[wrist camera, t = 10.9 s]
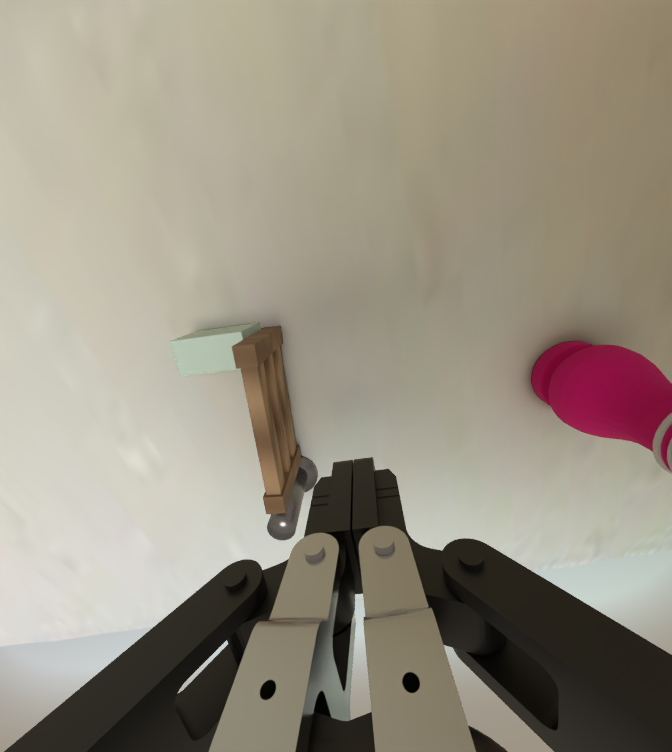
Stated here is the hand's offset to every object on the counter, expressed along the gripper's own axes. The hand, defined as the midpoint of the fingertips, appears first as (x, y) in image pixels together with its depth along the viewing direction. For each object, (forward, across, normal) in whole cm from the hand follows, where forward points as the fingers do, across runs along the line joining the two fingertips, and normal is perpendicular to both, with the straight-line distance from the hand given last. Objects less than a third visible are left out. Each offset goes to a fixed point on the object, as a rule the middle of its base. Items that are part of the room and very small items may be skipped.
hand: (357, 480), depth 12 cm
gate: (+19, +8, +3) cm, 20 cm away
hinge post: (+19, +8, +12) cm, 24 cm away
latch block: (+19, +12, -4) cm, 23 cm away
